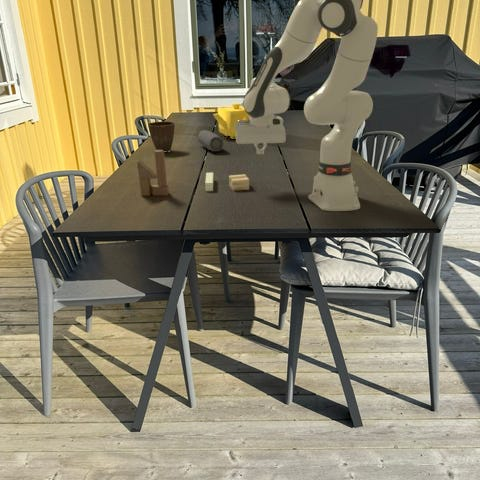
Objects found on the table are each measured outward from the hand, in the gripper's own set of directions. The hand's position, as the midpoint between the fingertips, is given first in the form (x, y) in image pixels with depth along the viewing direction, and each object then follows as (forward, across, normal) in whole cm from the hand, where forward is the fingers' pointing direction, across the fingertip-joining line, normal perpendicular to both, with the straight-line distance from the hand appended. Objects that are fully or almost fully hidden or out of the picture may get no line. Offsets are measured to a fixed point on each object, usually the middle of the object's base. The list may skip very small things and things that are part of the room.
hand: (260, 153), depth 177 cm
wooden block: (+14, -44, -7) cm, 46 cm away
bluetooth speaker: (+17, -22, +75) cm, 80 cm away
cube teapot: (+18, -6, +109) cm, 111 cm away
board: (+14, -22, +3) cm, 26 cm away
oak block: (+14, -9, -1) cm, 17 cm away
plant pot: (+17, -49, +73) cm, 90 cm away
